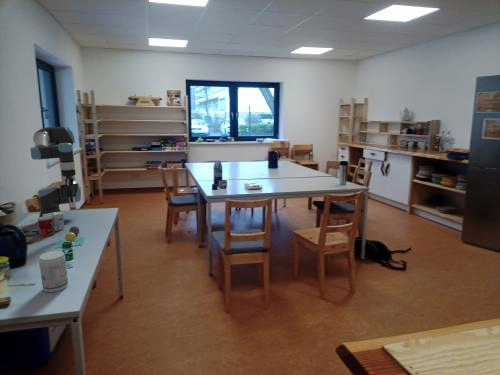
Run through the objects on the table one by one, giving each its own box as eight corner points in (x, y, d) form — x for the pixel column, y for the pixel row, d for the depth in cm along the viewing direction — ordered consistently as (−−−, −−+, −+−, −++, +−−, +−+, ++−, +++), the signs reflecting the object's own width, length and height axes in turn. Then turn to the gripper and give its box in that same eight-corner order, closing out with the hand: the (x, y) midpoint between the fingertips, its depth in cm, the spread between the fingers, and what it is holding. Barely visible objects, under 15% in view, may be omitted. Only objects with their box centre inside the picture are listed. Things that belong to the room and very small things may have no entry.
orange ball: (64, 231, 204) (63, 239, 201) (74, 229, 206) (74, 238, 203) (66, 235, 209) (66, 244, 205) (76, 234, 210) (76, 243, 207)
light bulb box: (46, 233, 222) (44, 216, 220) (44, 230, 227) (41, 214, 225) (65, 229, 229) (63, 213, 227) (62, 227, 234) (60, 211, 232)
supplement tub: (39, 288, 151) (34, 255, 148) (62, 280, 158) (58, 248, 155) (48, 295, 145) (43, 261, 142) (72, 286, 152) (68, 254, 149)
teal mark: (59, 240, 209) (59, 239, 209) (85, 237, 213) (85, 236, 213) (54, 248, 196) (54, 248, 196) (82, 245, 200) (81, 244, 200)
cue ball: (68, 226, 213) (68, 236, 213) (78, 226, 215) (79, 235, 215) (69, 226, 219) (70, 235, 218) (79, 225, 220) (80, 234, 220)
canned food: (48, 237, 214) (46, 219, 212) (37, 236, 216) (34, 219, 214) (58, 233, 222) (55, 216, 219) (46, 232, 223) (44, 215, 221)
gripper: (63, 167, 219) (68, 205, 224) (58, 171, 207) (64, 210, 212) (76, 167, 221) (81, 204, 226) (73, 170, 209) (77, 209, 214)
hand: (72, 207), depth 219 cm, fingers closed
